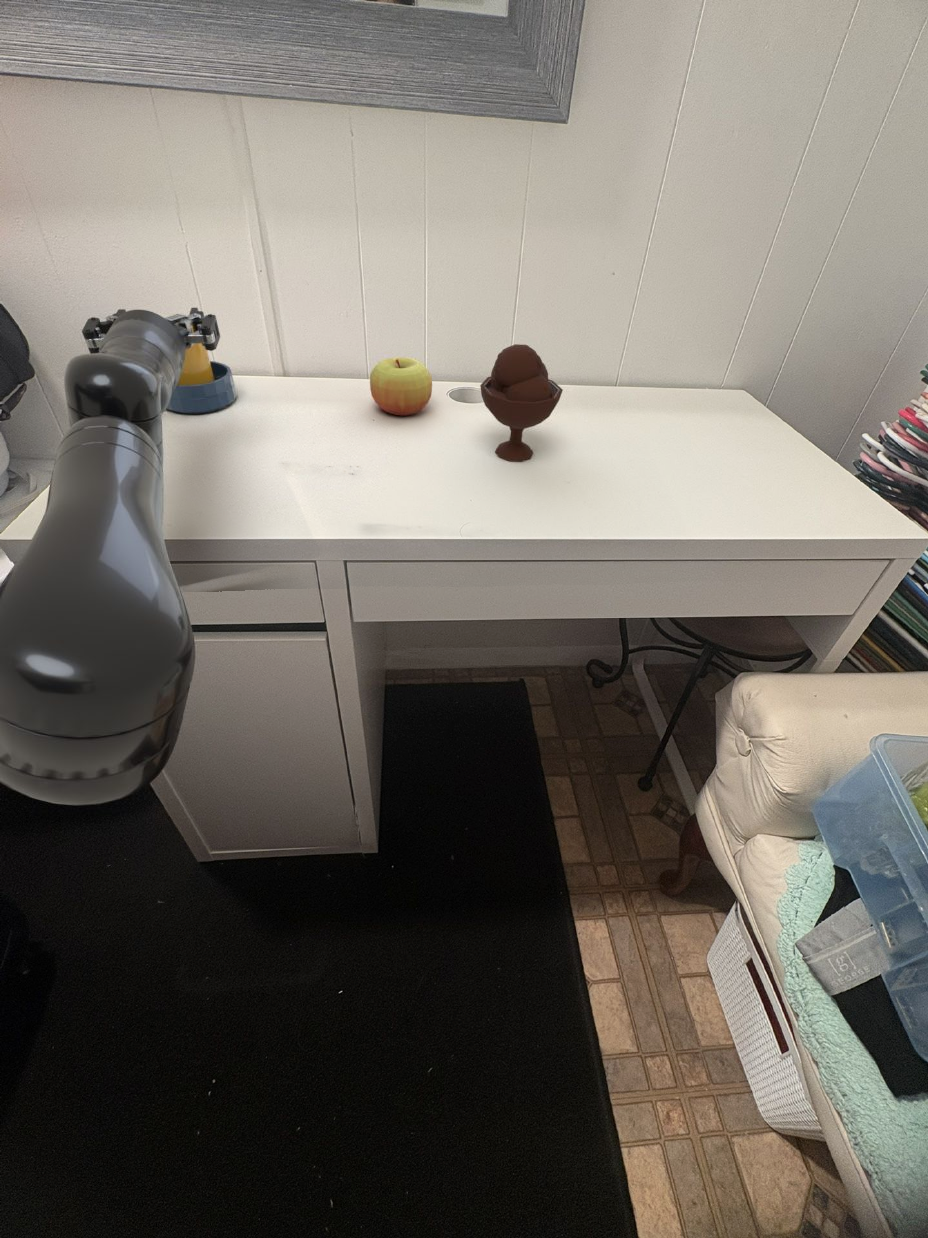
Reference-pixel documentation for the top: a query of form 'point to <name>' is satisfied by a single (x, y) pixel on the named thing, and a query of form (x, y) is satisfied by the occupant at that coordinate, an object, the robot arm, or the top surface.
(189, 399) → the bowl
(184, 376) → the cup
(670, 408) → the top surface
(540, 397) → the ice cream bowl
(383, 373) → the apple
